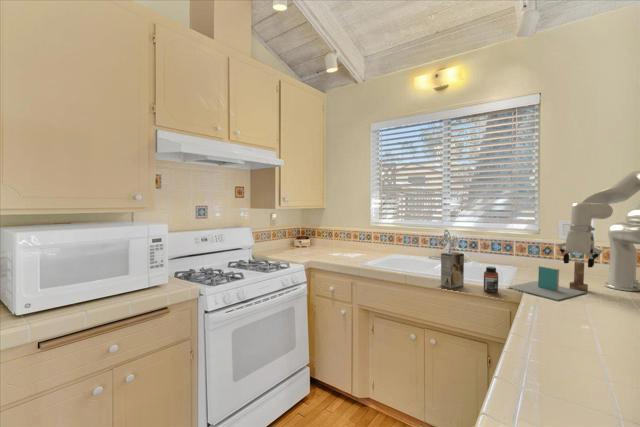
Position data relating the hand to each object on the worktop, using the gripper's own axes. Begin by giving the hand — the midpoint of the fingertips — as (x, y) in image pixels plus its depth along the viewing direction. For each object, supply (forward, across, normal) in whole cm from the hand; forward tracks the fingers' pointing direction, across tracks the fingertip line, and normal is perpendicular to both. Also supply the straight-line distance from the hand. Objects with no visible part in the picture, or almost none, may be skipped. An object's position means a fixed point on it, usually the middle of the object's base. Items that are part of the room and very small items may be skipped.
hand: (577, 265), depth 152 cm
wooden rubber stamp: (+12, 0, -1) cm, 12 cm away
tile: (+7, +6, +13) cm, 16 cm away
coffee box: (+14, +32, +47) cm, 58 cm away
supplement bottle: (+13, +17, +39) cm, 44 cm away
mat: (+12, +6, +15) cm, 20 cm away
